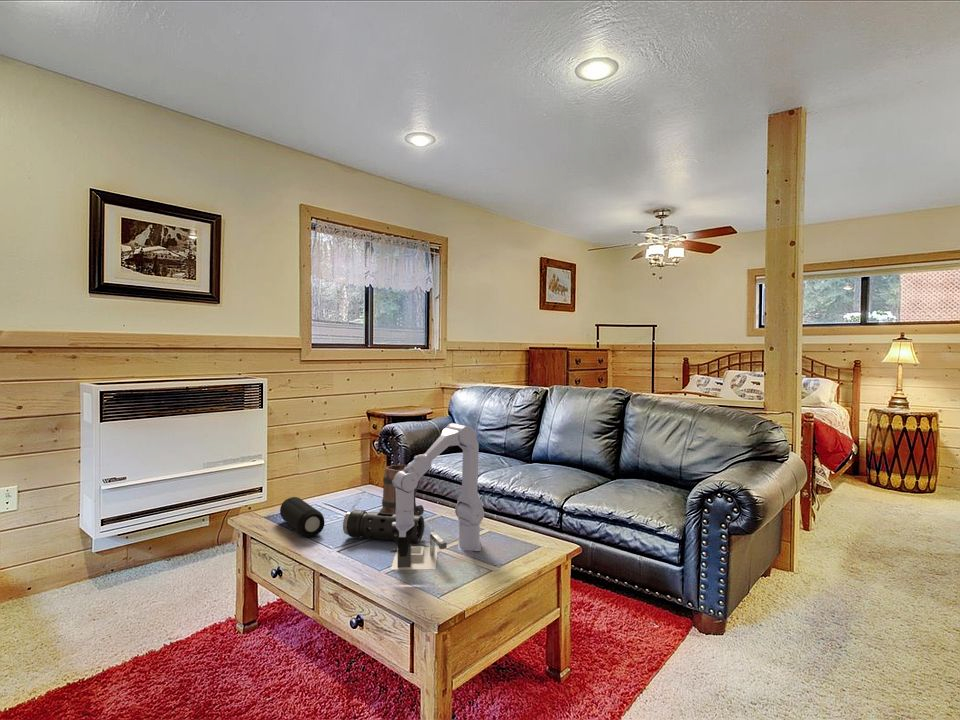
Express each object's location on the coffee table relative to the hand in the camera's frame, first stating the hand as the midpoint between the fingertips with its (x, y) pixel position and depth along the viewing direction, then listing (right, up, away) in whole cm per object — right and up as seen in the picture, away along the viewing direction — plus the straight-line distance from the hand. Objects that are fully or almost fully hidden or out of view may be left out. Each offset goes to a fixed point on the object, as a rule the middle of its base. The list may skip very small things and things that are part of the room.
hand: (404, 551), depth 167 cm
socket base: (+3, -5, +6) cm, 8 cm away
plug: (-1, -4, 0) cm, 4 cm away
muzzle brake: (-11, -5, +22) cm, 25 cm away
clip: (+10, -4, +2) cm, 11 cm away
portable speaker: (-45, -4, +34) cm, 56 cm away
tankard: (-8, -4, +49) cm, 50 cm away
